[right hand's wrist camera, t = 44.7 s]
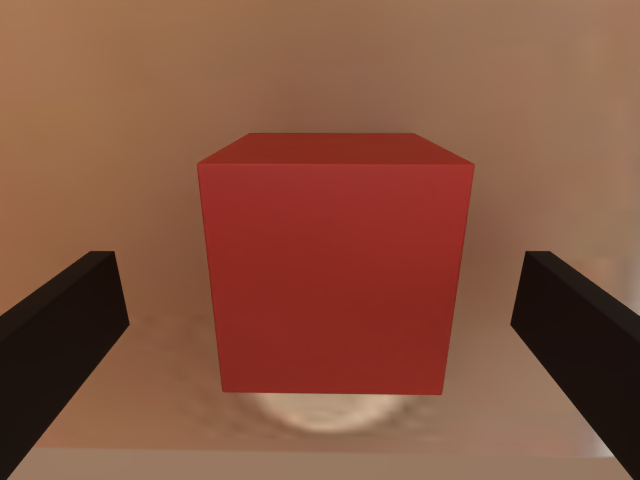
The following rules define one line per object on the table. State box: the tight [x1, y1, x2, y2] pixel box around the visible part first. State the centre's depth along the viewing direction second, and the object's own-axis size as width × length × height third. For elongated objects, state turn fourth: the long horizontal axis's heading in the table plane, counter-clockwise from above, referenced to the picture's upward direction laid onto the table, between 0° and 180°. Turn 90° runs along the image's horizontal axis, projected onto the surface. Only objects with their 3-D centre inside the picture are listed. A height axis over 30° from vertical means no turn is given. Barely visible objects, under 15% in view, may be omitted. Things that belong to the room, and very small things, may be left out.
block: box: [197, 133, 474, 395], centre depth 16 cm, size 8×8×8 cm
